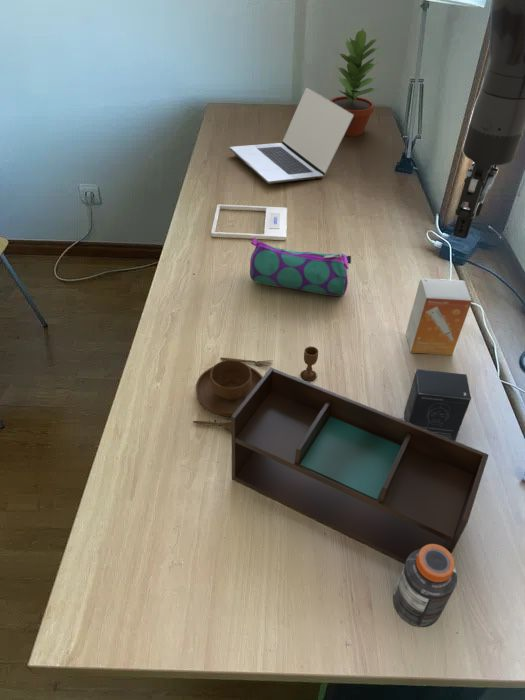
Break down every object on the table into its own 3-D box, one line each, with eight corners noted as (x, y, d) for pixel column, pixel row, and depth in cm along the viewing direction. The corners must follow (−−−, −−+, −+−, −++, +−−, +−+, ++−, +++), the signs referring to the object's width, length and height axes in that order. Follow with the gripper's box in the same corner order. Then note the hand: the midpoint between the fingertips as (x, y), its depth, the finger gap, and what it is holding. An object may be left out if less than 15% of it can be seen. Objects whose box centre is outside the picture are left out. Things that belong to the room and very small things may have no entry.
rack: (459, 515, 80) (488, 454, 71) (438, 580, 73) (467, 522, 63) (267, 430, 91) (270, 367, 81) (231, 479, 83) (231, 416, 74)
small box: (410, 353, 106) (425, 297, 97) (405, 332, 110) (419, 277, 102) (453, 356, 105) (472, 300, 97) (446, 334, 110) (464, 279, 102)
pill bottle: (435, 582, 73) (458, 536, 65) (444, 630, 68) (470, 586, 61) (388, 580, 73) (406, 533, 65) (395, 627, 68) (415, 583, 61)
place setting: (209, 354, 104) (208, 330, 100) (317, 369, 102) (320, 344, 98) (184, 426, 91) (181, 401, 87) (307, 444, 89) (310, 419, 85)
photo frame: (286, 236, 134) (211, 232, 134) (286, 240, 135) (211, 236, 135) (287, 207, 145) (217, 203, 145) (286, 210, 146) (217, 207, 146)
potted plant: (331, 139, 183) (343, 36, 163) (323, 122, 194) (333, 24, 174) (376, 139, 184) (393, 37, 164) (365, 122, 195) (380, 25, 175)
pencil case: (347, 281, 123) (354, 243, 116) (344, 305, 116) (350, 266, 110) (254, 268, 125) (255, 230, 119) (245, 291, 119) (246, 251, 112)
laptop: (229, 150, 170) (233, 88, 159) (298, 144, 180) (306, 86, 169) (267, 185, 153) (275, 119, 142) (341, 176, 163) (354, 114, 152)
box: (450, 419, 94) (467, 373, 87) (453, 445, 89) (472, 399, 82) (402, 412, 94) (416, 367, 87) (403, 438, 90) (418, 392, 83)
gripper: (514, 146, 75) (479, 251, 86) (532, 114, 84) (498, 213, 95) (458, 134, 77) (431, 237, 88) (481, 105, 87) (454, 202, 98)
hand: (466, 225), depth 92 cm, fingers open, 8 cm apart
